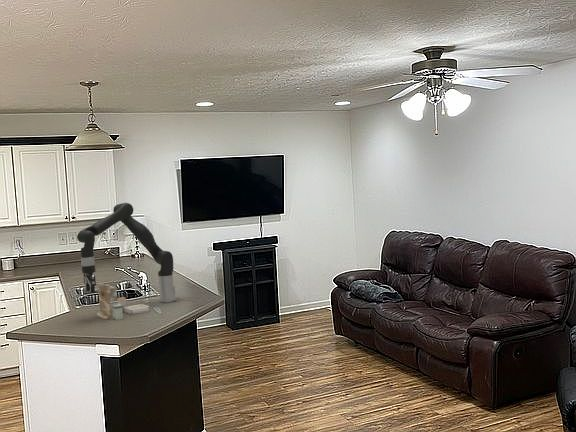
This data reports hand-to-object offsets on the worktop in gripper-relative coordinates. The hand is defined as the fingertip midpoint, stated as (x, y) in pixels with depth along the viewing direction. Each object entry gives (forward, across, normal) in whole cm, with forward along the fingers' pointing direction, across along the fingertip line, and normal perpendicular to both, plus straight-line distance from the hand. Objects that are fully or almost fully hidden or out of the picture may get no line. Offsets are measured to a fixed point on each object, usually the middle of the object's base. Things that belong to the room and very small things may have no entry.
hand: (90, 292), depth 357 cm
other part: (+16, -12, -11) cm, 23 cm away
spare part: (+16, +8, -21) cm, 28 cm away
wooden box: (+16, 0, -10) cm, 19 cm away
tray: (+16, -3, -26) cm, 31 cm away
